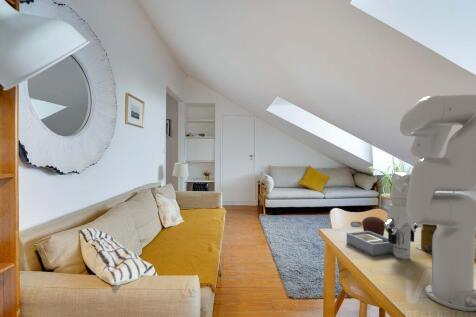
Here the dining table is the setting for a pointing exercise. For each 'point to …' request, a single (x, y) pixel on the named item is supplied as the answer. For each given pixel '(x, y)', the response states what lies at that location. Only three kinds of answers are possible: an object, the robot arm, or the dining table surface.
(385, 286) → the dining table surface
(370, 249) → the walled box
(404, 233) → the energy drink can
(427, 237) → the condiment
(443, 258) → the robot arm
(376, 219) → the muffin
